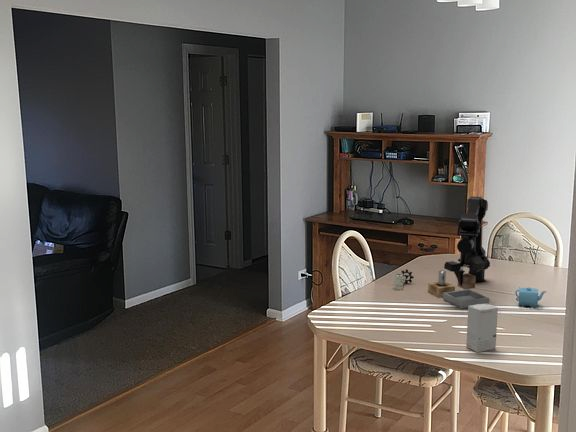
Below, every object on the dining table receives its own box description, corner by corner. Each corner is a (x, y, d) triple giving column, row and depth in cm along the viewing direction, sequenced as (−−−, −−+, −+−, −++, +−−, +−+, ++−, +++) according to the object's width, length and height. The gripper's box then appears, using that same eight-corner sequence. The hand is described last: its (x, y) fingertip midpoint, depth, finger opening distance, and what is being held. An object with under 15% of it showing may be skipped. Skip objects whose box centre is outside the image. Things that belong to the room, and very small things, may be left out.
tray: (468, 295, 271) (469, 289, 271) (488, 305, 260) (489, 297, 259) (442, 299, 267) (443, 292, 266) (462, 309, 255) (462, 302, 254)
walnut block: (467, 284, 265) (468, 272, 264) (475, 288, 261) (475, 276, 260) (457, 286, 263) (458, 274, 262) (465, 289, 259) (465, 277, 258)
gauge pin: (442, 292, 277) (443, 270, 275) (446, 294, 274) (447, 271, 272) (436, 293, 275) (437, 270, 274) (440, 295, 273) (441, 272, 271)
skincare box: (477, 353, 212) (479, 310, 209) (465, 346, 218) (467, 305, 215) (496, 349, 215) (499, 307, 213) (484, 342, 221) (486, 301, 218)
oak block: (443, 290, 280) (444, 281, 279) (454, 295, 272) (455, 286, 272) (428, 292, 277) (428, 283, 276) (438, 297, 270) (439, 288, 269)
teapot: (545, 304, 259) (547, 287, 258) (546, 309, 254) (547, 291, 252) (514, 301, 263) (515, 284, 262) (514, 306, 258) (515, 288, 256)
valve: (403, 291, 279) (413, 284, 289) (404, 276, 278) (414, 270, 288) (389, 288, 282) (400, 282, 292) (390, 274, 281) (400, 268, 291)
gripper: (460, 254, 248) (459, 293, 251) (499, 249, 255) (497, 287, 258) (444, 248, 258) (442, 285, 261) (482, 243, 265) (480, 279, 268)
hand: (466, 284), depth 262 cm, fingers closed on walnut block, 5 cm apart
